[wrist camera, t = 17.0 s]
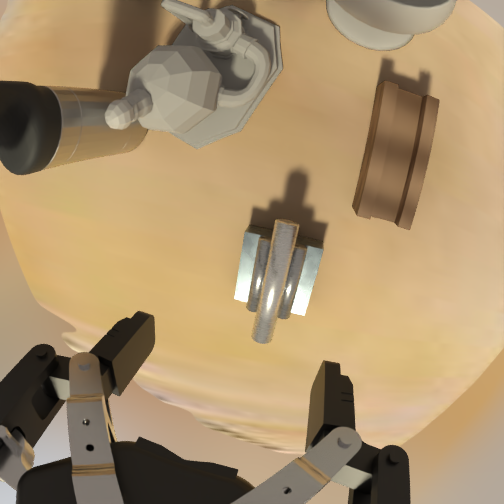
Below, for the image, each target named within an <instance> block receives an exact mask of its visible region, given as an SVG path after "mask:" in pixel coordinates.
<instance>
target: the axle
mask: <svg viewBox="0 0 504 504" xmlns="http://www.w3.org/2000/svg"><path fill="white" fill-rule="evenodd" d="M298 230H299V224H298V223H296V222H294V221H291V220H286V219H276V220H275V224H274V229H273V234H272V239H271V244H270V249H269V254H268V259H267V264H266V269H265V274H264V278H263V283H262V288H261V293H260V297H259V302H258V307H257V312H256V316H255V321H254V326H253V330H252V335H251V337H252V339H253V340H254V341H256V342H258V343H262V344H266V343H269V342H271V340H272V337H273V333H274V329H275V325H276V321H277V317H278V314H279V310H280V306H281V302H282V298H283V294H284V289H285V285H286V281H287V277H288V273H289V269H290V264H291V260H292V256H293V252H294V247H295V243H296V239H297V234H298Z"/></svg>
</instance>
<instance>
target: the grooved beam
mask: <svg viewBox="0 0 504 504" xmlns="http://www.w3.org/2000/svg"><path fill="white" fill-rule="evenodd" d="M398 86H399V84H395V83H392V82H389V81H386V80H385V81H384V82H382V83H381V84H380V85H378V86H377V88H376V94H375V100H374V106H373V112H372V118H371V123H370V128H369V133H368V138H367V143H366V148H365V153H364V158H363V162H362V167H361V171H360V176H359V180H358V184H357V188H356V193H355V197H354V201H353V205H352V207H353V209H354V211H355V213H356V215H357V216H359V217H363V218H367V219H370V218H371V216H372V217H376V218H380V219H383V220H387V221H391V222H394V223H395V224H396V225H397V226H398V227H401V228H404V229H408V230H410V228H411V225H412V222H413V218H414V215H415V212H416V208H417V205H418V201H419V197H420V194H421V190H422V186H423V182H424V178H425V174H426V170H427V165H428V161H429V156H430V152H431V147H432V142H433V137H434V131H435V126H436V120H437V114H438V107H439V99H436V98H434V97H432V96H429V95H426V96H423V97H422V96H419V95H417V94H414V93H411V92H408V91H405V90H402V89H399V88H398Z"/></svg>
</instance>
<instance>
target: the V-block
mask: <svg viewBox="0 0 504 504" xmlns="http://www.w3.org/2000/svg"><path fill="white" fill-rule="evenodd" d="M272 234H273V230H271V229H266V228H262V227H257V226H253V225H249V227H248V228H247V229H246V231H245V234H244V240H243V246H242V252H241V259H240V265H239V271H238V278H237V284H236V290H235V297H234V299H237V300H241V301H245V302H247V306H246V308H247V309H248V310H249V311H251V312H257V307H258V302H259V297H260V293H261V288H262V283H263V278H264V274H265V269H266V264H267V259H268V254H269V249H270V244H271V239H272ZM322 253H323V241H319V240H315V239H311V238H306V237H302V236H298V235H297V239H296V243H295V247H294V252H293V256H292V260H291V264H290V269H289V273H288V277H287V281H286V285H285V289H284V294H283V298H282V302H281V306H280V310H279V314H278V318H281V319H288V318H289V317H290V314H291V313H295V314H300V315H305V312H306V309H307V305H308V302H309V299H310V295H311V292H312V289H313V285H314V282H315V278H316V275H317V271H318V268H319V264H320V260H321V257H322Z"/></svg>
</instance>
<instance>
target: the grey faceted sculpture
mask: <svg viewBox="0 0 504 504" xmlns="http://www.w3.org/2000/svg"><path fill="white" fill-rule="evenodd" d="M161 6H162V7H163V8H164V9H166V10H167V11H169V12H170V13H172V14H173V15H174V16H176V17H177V18H179V19H180V20H181V21H183V22H184V23H185V24H186V25H185V26H184V28H183V29H182V31H181V32H180V34H179V35H178V37H177V38H176V40H175V41H174V43H173V44H172V45H168V46H157V47H156V48H155V49H153V50H152V51H151V52H150V53H149V54H148V55H147V56H145V57H144V58H143V59H142V60H141V61H140V62H139V63H138V64H137V65H136V66H134V67H133V68H132V69H131V70H130V75H129V81H128V86H127V91H126V97H123V98H122V99H120V100H115V101H113V102H112V103H111V104H109V106H108V108H107V110H106V112H105V114H104V115H105V120H106V123H107V124H108V125H109V126H110V128H113V129H121V130H122V129H125V128H127V127H128V126H129V125H130V124H131V123H133V122H134V121H136V120H137V119H138V121H139V122H140V124H141V125H142V127H144V128H147V129H149V130H156V131H164V132H169V133H171V134H172V135H174V136H175V137H177V138H179V139H181V140H182V141H184V142H186V143H187V144H189V145H191V146H192V147H194V148H196V149H199V148H201V147H204V146H206V145H208V144H210V143H213V142H215V141H217V140H219V139H222V138H224V137H227V136H230V135H232V134H235V133H237V132H240V131H241V130H242V129H243V127H244V126H245V124H246V123H247V121H248V120H249V118H250V117H251V115H252V114H253V112H254V111H255V109H256V108H257V106H258V105H259V103H260V102H261V100H262V99H263V97H264V96H265V94H266V93H267V91H268V90H269V88H270V87H271V85H272V84H273V82H274V81H275V80H276V78H277V77H278V75H279V74H280V72H281V71H282V70H283V66H282V57H281V50H280V27H278V26H276V25H274V24H272V23H270V22H268V21H266V20H263V19H261V18H259V17H257V16H255V15H252V14H250V13H248V12H246V11H244V10H242V9H240V8H238V7H235V6H233V5H230V6H226V7H223V8H221V9H210V8H208V9H206V10H202V9H200V8H197V7H194V6H192V5H189V4H186V3H183V2H180V1H178V0H163V1H162V3H161Z"/></svg>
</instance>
